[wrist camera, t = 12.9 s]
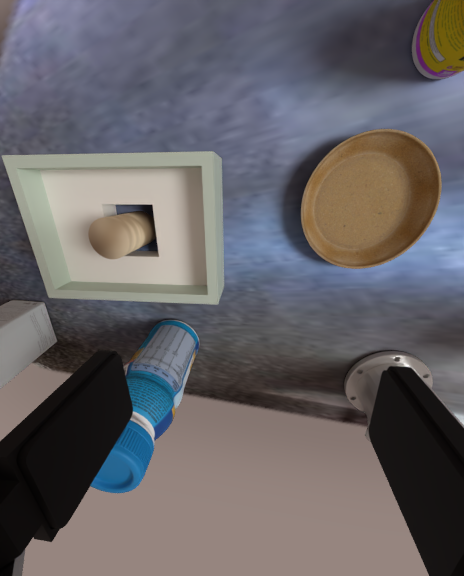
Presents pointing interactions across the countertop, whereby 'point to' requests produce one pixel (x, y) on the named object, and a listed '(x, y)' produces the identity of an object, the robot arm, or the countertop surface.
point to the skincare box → (22, 336)
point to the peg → (121, 234)
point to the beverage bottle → (149, 402)
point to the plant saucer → (371, 198)
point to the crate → (101, 203)
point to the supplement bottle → (440, 40)
